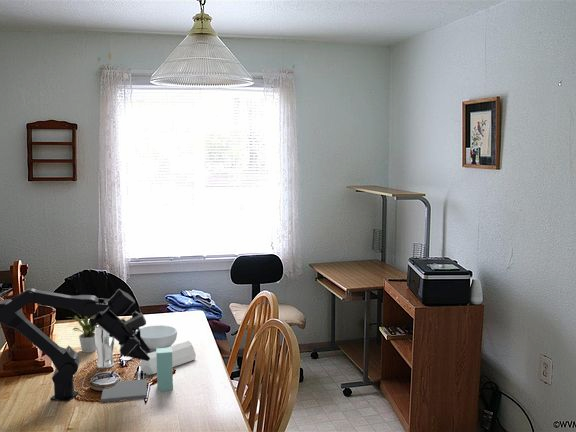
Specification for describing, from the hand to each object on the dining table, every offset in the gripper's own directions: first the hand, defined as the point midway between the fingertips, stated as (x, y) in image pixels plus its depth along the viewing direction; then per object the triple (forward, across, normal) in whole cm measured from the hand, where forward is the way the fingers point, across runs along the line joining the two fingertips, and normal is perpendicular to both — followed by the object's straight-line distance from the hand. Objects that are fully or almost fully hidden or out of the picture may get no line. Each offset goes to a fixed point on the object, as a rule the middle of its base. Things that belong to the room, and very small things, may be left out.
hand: (149, 355), depth 196 cm
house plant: (-9, +46, +26) cm, 53 cm away
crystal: (+13, +22, +4) cm, 26 cm away
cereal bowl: (+10, +43, +7) cm, 45 cm away
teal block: (+12, 0, +5) cm, 13 cm away
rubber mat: (+2, 0, +14) cm, 14 cm away
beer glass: (-3, +27, +20) cm, 34 cm away
